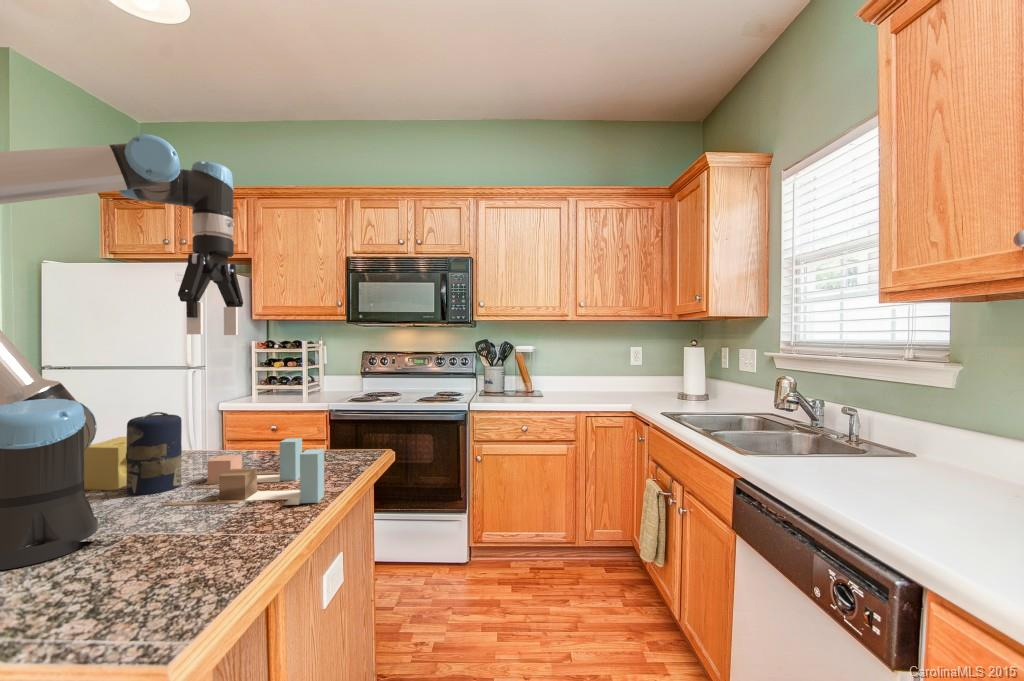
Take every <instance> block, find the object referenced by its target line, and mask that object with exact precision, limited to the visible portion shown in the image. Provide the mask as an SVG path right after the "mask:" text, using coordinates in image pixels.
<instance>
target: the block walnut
mask: <svg viewBox="0 0 1024 681" xmlns="http://www.w3.org/2000/svg"><path fill="white" fill-rule="evenodd" d="M257 473H258V468H257V467H253V468H251V467H250V468H249V467H246V468H244V467H242V469H231V470H229V471H227V472H225V473H223V474H221V475H220V476H219V484H218V486H219V489H218V492H219V493H218V495H219V496H218V500H219V501H225V500H246V499H247V498H249V497H250V496H252V495H253V494H255V493H256V492H257V491H258V488H257V485H258V482H257V476H258V475H257Z"/></svg>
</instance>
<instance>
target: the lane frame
mask: <svg viewBox="0 0 1024 681" xmlns="http://www.w3.org/2000/svg"><path fill="white" fill-rule="evenodd" d="M258 475H280V471H266V472H265V471H263V472H258V471H257V476H258ZM263 487H264V484H257V489H258V488H263ZM217 489H218V490H219V485H215V486H214V485H210V486H196V487H194V488H193V490H217ZM239 503H241V501H217V500H215V501H191V502H190V501H188V502H165V503H162V507H176V506H177V507H178V506H181V507H182V506H207V505H209V506H210V505H238V504H239Z"/></svg>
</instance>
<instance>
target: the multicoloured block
mask: <svg viewBox="0 0 1024 681" xmlns="http://www.w3.org/2000/svg"><path fill="white" fill-rule="evenodd" d="M324 497H325V449H324V448H321V449H320V448H319V449H306V450H305V451H302V453H301V454H300V477H299V489H294V490H293V489H290V490H257V492H256V493H255V494H253V495H252V496H250V497H249V498H247V499H246V500H225V501H240V502H242V501H272V500H273V501H275V500H276V501H277V500H286V501H285V502H284V503H282V504H281V506H293V505H294V506H296V505H297V506H298V505H300V504H310V503H311V504H317V503H319V502H321V501H322V499H323V498H324ZM216 501H219V499H216Z"/></svg>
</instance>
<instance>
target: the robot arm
mask: <svg viewBox="0 0 1024 681" xmlns="http://www.w3.org/2000/svg"><path fill="white" fill-rule="evenodd" d="M233 180H234V179H233V172H232V171H231V170H230V169H229V168H228V167H227V166H225V165H222V164H220V163H216V162H213V161H202V160H201V161H200V160H199V161H195V162H193V164H192V165H191V168H190V170H189V169H182V168H181V162H180V159H179V154H178V152H177V151H176V150H175V147H173V146H172V144H170V143H169V142H168V141H167V140H165V139H164V138H162V137H159V136H157V135H153V134H146V133H145V134H138V135H136V136H134V137H132V138H131V139H130V140H129V141H128V142H125V143H115V144H105V145H90V146H89V145H88V146H73V147H57V148H55V147H54V148H39V149H24V150H23V149H22V150H9V151H8V150H7V151H0V205H4V204H14V203H22V202H23V203H24V202H31V201H38V200H39V201H40V200H41V201H42V200H48V199H56V198H66V197H73V196H83V195H84V196H85V195H91V194H100V193H109V192H116V191H117V192H119V195H121V197H124V198H127V199H130V200H131V199H132V200H137V201H139V202H151V203H159V204H168V205H172V206H173V205H174V206H180V207H181V206H182V207H189V208H191V209H192V216H191V217H192V218H191V220H192V221H191V222H192V225H191V226H192V228H191V232H192V234H193V237H192V253H188V256H187V265H186V268H185V271H184V273H183V276H182V277H183V278H182V280H181V282H180V286H179V289H178V292H177V297H178V298H179V301H180V302H184V303H185V302H186V307H185V308H186V335H204V302H202V301H201V300H202V299H201V298H202V297H203V295H204V293H205V292H206V289H207V288H208V287H209V284H210V282H211V281H212V282H213V283H215V284H216V286H217V288H218V290H219V292H220V294H221V297H222V299H223V302H224V304H225V306H224V307H223V336H238V335H239V333H238V332H239V328H238V326H239V320H238V319H239V318H238V317H239V316H238V314H239V313H238V312H239V311H238V310H239V308H243V305H244V299H243V296H242V292H241V288H240V284H239V279H238V276H237V269H236V268H237V267H236V264H235V263H228V258H232V257H233V256H234V255H235V250H234V249H235V248H234V247H235V245H234V244H235V243H234V240H233V237H234V227H235V222H234V199H235V198H234V192H235V189H234V182H233ZM97 425H98V424H97V420H96V416H95V414H94V413H93V411H92V410H91V409H90V408H89V407H88V406H86V405H85V404H84V403H82V402H79V400H77V399H76V398H75V396H73V395H72V394H71V393H70V391H69V390H68V389H67V388H66V387H65V386H64V385H63V384H62V383H61V382H60V381H58V380H51V379H45V378H44V377H42V375H41V374H40V373H39V372H38V371H37V370H36V369H35V367H33V365H32V364H31V363H30V362H29V360H27V358H26V357H25V356H24V355H23V353H21V352H20V351H19V349H18V348H17V347H16V346H15V345H14V343H13V342H12V340H10V339H9V338H8V337H7V335H6V334H5V333H4V332H3V331H2V330H1V329H0V571H4V570H10V569H11V570H12V569H17V568H20V567H26V566H30V565H35V564H39V563H43V562H46V561H50V560H53V559H56V558H60V557H63V556H65V555H68V554H70V553H73V552H75V551H78V550H80V549H83V548H85V547H86V546H88V545H90V544H91V543H93V542H94V541H93V540H88V541H87V540H86V539H88V538H90V537H91V536H93V535H94V534H96V533H97V532H98V530H99V529H100V528H99V526H100V523H99V520H98V518H97V517H95V515H94V511H93V509H92V506H91V504H90V502H89V499H88V498H87V495H86V492H85V490H86V489H84V451H85V450H86V449H87V448H88V447H89V446H90V445H92V444H93V442H94V439H95V437H96V434H97V431H98V430H97V429H98V427H97ZM85 540H86V541H85Z"/></svg>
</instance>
